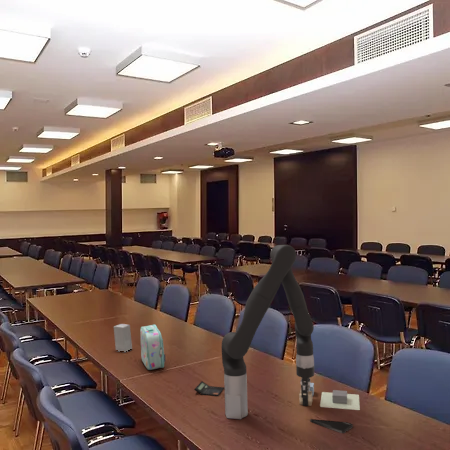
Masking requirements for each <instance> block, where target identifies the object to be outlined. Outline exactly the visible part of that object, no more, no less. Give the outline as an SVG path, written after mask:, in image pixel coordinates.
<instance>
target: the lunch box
mask: <svg viewBox="0 0 450 450" xmlns="http://www.w3.org/2000/svg"><path fill="white" fill-rule="evenodd" d="M139 333H140V334H139V335H140V351H141V352H140V355H141V361H142V363H143V365H144V366H145V368H146V369H147V370H148V371H151V370H156V369H162V368H164V367H165V362H166V353H165V349H164V347H165V346H164V339H163V337H162V336H163V335H162V333H161V331H160V330H159V328H158V326H157V325H156V324H150V325H145V326H141V327H140V332H139Z"/></svg>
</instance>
